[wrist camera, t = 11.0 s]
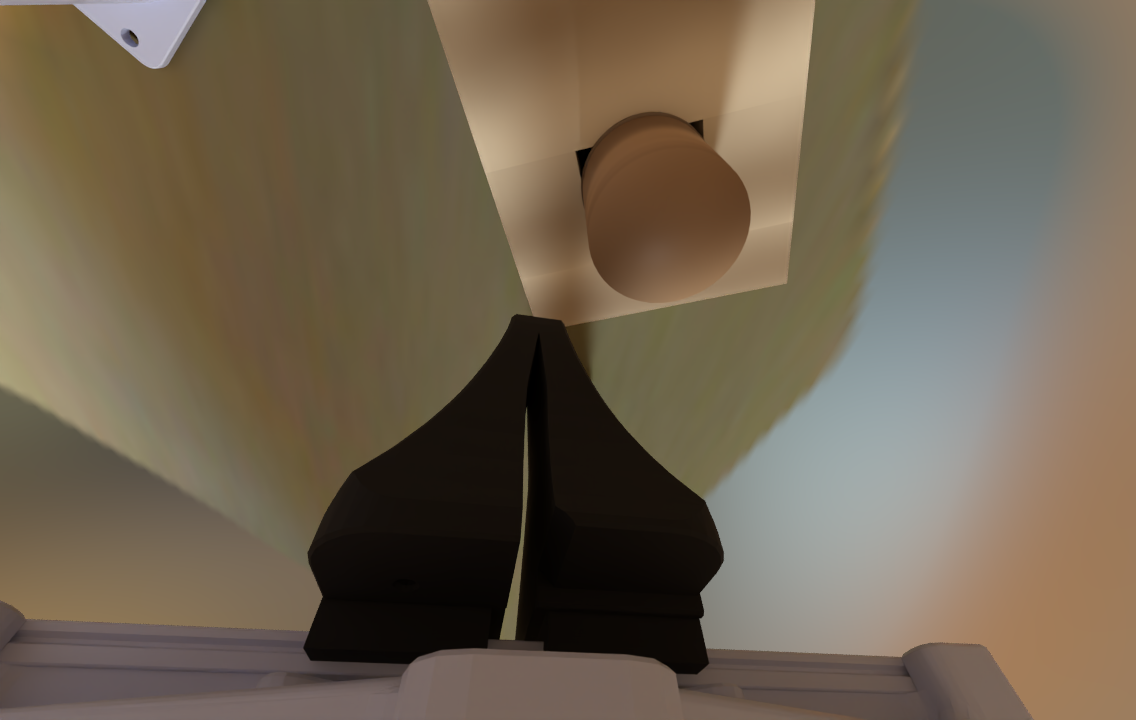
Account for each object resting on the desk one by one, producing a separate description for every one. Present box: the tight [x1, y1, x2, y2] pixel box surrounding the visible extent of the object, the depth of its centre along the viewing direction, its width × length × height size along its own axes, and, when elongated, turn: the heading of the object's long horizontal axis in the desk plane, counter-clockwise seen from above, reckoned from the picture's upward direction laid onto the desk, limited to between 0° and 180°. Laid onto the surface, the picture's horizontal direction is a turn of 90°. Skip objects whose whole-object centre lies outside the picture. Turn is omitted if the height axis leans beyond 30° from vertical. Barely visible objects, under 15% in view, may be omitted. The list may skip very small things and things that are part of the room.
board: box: [428, 0, 815, 327], centre depth 16 cm, size 16×11×3 cm
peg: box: [581, 112, 751, 303], centre depth 15 cm, size 5×5×7 cm
